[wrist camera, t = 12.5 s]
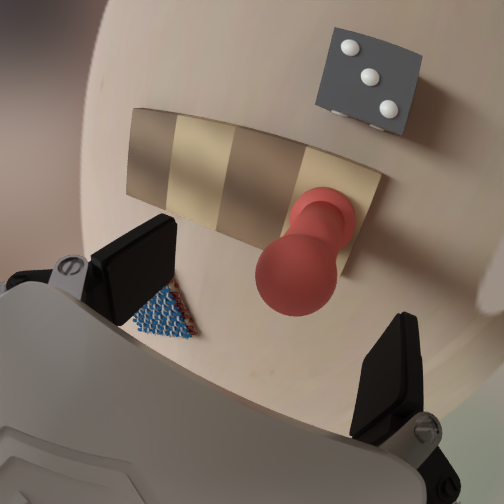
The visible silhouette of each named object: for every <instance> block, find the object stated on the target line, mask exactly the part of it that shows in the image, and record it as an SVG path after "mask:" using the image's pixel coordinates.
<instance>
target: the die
mask: <svg viewBox="0 0 504 504" xmlns="http://www.w3.org/2000/svg"><path fill="white" fill-rule="evenodd" d="M421 61H422V55H419V54H417V53H414V52H412V51H410V50H407V49H405V48H402V47H399V46H397V45H394V44H391V43H388V42H385V41H382V40H379V39H376V38H373V37H370V36H366V35H363V34H359V33H356V32H352V31H348V30H344V29H340V28H336V27H334V31H333V35H332V40H331V44H330V48H329V52H328V56H327V60H326V64H325V68H324V72H323V76H322V80H321V83H320V87H319V91H318V95H317V99H316V103H315V105H318V106H320V107H322V108H324V109H327V110H330V111H331V112H332V113H335V114H338V115H341V116H344V117H347V118H348V117H351V118H354V119H357V120H360V121H363V122H365V123H368V124H370V126H371V127H373V128H376V129H378V130H381V131H384V130H386V131H388V132H391V133H393V134H398V135H402V134H403V131H404V128H405V124H406V121H407V118H408V114H409V110H410V107H411V103H412V99H413V95H414V92H415V88H416V83H417V79H418V75H419V70H420V66H421Z"/></svg>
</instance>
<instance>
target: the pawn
mask: <svg viewBox="0 0 504 504" xmlns="http://www.w3.org/2000/svg"><path fill="white" fill-rule="evenodd" d="M355 219H356V218H355V211H354V208H353V206H352V204H351V202H350V201H349V199H348V198H347V197H346V196H345V195H344V194H343V193H341V192H340V191H338V190H336V189H333V188H329V187H316V188H313V189H310V190H308V191H306V192H305V193H304V194H303V195H302V196H301V197H300V198H299V199H298V200H297V201H296V202H295V204H294V205H293V207H292V210H291V213H290V227H289V229H288V230H287V231H286V233H285V234H284V235H283V236H282V237H280V238H278V239H276V240H274V241H273V242H272V243H270V244H269V245H268V246H267V247H266V248H265V249H264V251H263V252H262V254H261V256H260V257H259V260H258V263H257V266H256V272H255V279H256V285H257V289H258V291H259V293H260V295H261V297H262V299H263V300H264V301H265V303H266V304H267V305H268V306H269V307H271V308H272V309H273V310H275V311H277V312H279V313H281V314H284V315H288V316H304V315H309V314H311V313H314V312H316V311H317V310H319V309H320V308H322V307H323V306H324V305H325V304H326V303H327V302H328V301H329V299H330V298H331V296H332V295H333V293H334V290H335V287H336V284H337V275H338V274H337V266H336V260H337V256H338V252H339V250H340V249H342V248H343V247H344V246H346V245H347V244H348V242H349V241H350V240H351V238H352V236H353V233H354V228H355Z"/></svg>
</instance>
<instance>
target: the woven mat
mask: <svg viewBox="0 0 504 504" xmlns="http://www.w3.org/2000/svg"><path fill="white" fill-rule="evenodd" d="M177 287H178V286H177V284H175V281H174V279H172V280H171V281H170V282H169V283H168V284H167V285H166V286H165V287H164V288H163V289H162V290H160V291H159V292H158V293H157V294H156V295H155V296H154V297H153V298H152V299H151V300H149V301H148V302H147V303H146V304H145V305H144V306H143V307H142V308H141V309H140V310H139V311H137V312H136V313H135V314H134V315H133V316H134V317H135V318H136V319H133V322H137V325H139V326H140V327H141V328H138V331H143V332H145V333H147V334H148V332H149V333H151V332H152V333H153V334H154V335H156V334H158V335H161V336H163V334H164V335H166V336H169V337H171V336H172V337H175V336H176V337H177V338H178V339H179V336H180V337H182V338H186V339H188V338H189V337H190V338H191V337H192V335H196V333H197V331H196V328H195V326H194V324H193V320H192V319H191V318H190V315H189V313H188V311H187V309H186V307H185V304H184V302H183V300H182V298H181V295H180V293H179V290H178V288H177ZM174 296H177V298H175V297H174ZM167 306H168V307H167ZM180 307H181V308H182V309H179V308H180ZM181 312H184V315H182V313H181ZM178 328H179V329H178ZM189 329H192V331H190V330H189ZM150 331H151V332H150ZM152 333H151V334H152ZM173 334H174V335H175V336H174V335H173ZM191 334H192V335H191ZM183 336H184V337H183Z"/></svg>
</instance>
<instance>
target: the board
mask: <svg viewBox="0 0 504 504" xmlns="http://www.w3.org/2000/svg"><path fill="white" fill-rule="evenodd" d="M381 175H382V174H381V172H380V171H378V170H375V169H373V168H370V167H368V166H365V165H363V164H360V163H358V162H355V161H352V160H350V159H347V158H344V157H342V156H339V155H336V154H333V153H331V152H328V151H325V150H322V149H319V148H316V147H313V146H310V145H307V144H304V143H301V142H297V141H294V140H291V139H287V138H284V137H281V136H277V135H274V134H270V133H266V132H263V131H259V130H255V129H251V128H247V127H243V126H239V125H235V124H231V123H226V122H222V121H217V120H212V119H207V118H202V117H197V116H192V115H186V114H180V113H174V112H168V111H161V110H154V109H147V108H133V113H132V121H131V130H130V140H129V152H128V166H127V186H126V195H129V196H131V197H134V198H136V199H139V200H141V201H144V202H146V203H149V204H151V205H154V206H156V207H159V208H161V209H164V210H166V211H168V212H171V213H173V214H176V215H178V216H181V217H183V218H186V219H188V220H191V221H193V222H196V223H198V224H201V225H203V226H205V227H208V228H210V229H213V230H215V231H218V232H220V233H223V234H225V235H228V236H230V237H232V238H235V239H237V240H240V241H242V242H245V243H247V244H250V245H252V246H254V247H257V248H259V249H262V250H264V249H265V248H266V247H267V246H268V245H269V244H270V243H272V242H273V241H274V240H276V239H278V238H280V237H282V236H283V235H284V234H285V233H286V231H287V230H288V229H289V227H290V213H291V210H292V207H293V205H294V204H295V202H296V201H297V200H298V199H299V198H300V197H301V196H302V195H303V194H304V193H305V192H306V191H308V190H310V189H313V188H316V187H329V188H333V189H336V190H338V191H340V192H341V193H343V194H344V195H345V196H346V197H347V198H348V199H349V201H350V202H351V204H352V206H353V208H354V211H355V218H356V219H355V228H354V233H353V236H352V238H351V240H350V241H349V242H348V244H347V245H346V246H344V247H343V248H342V249H340V250H339V252H338V256H337V260H336V266H337V274H338V275H337V281H338V279H339V277H340V275H341V272H342V270H343V268H344V266H345V264H346V261H347V259H348V257H349V255H350V253H351V250H352V248H353V246H354V243H355V241H356V239H357V236H358V234H359V232H360V229H361V227H362V224H363V222H364V220H365V217H366V215H367V212H368V210H369V207H370V204H371V202H372V199H373V197H374V194H375V191H376V189H377V186H378V183H379V181H380V178H381Z"/></svg>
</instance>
